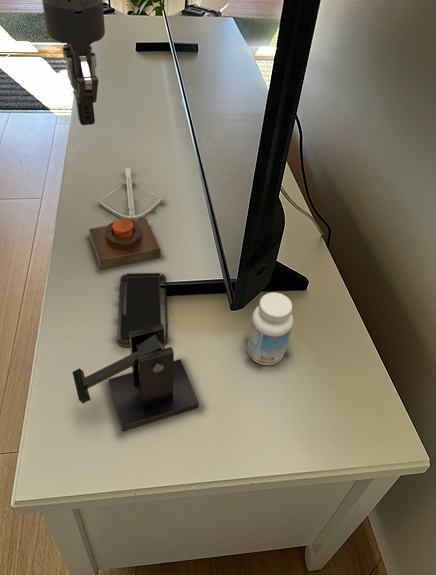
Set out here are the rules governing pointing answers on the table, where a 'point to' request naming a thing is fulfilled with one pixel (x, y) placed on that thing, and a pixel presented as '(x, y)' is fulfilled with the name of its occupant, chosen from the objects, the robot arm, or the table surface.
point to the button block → (124, 245)
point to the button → (123, 228)
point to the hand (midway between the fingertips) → (87, 122)
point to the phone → (141, 304)
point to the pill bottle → (270, 329)
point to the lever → (113, 368)
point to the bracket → (151, 384)
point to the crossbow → (130, 201)
